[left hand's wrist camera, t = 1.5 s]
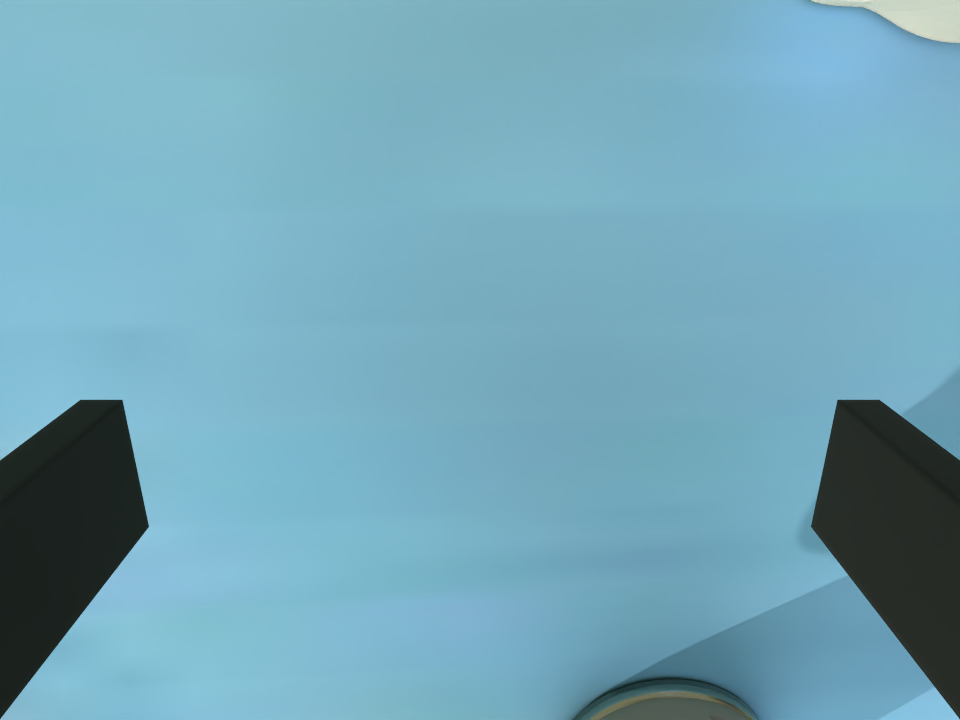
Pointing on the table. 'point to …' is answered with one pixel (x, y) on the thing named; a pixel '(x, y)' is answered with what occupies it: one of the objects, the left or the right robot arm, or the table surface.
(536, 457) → the table surface
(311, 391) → the table surface
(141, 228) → the table surface
